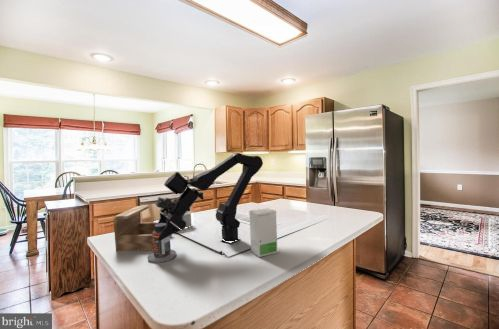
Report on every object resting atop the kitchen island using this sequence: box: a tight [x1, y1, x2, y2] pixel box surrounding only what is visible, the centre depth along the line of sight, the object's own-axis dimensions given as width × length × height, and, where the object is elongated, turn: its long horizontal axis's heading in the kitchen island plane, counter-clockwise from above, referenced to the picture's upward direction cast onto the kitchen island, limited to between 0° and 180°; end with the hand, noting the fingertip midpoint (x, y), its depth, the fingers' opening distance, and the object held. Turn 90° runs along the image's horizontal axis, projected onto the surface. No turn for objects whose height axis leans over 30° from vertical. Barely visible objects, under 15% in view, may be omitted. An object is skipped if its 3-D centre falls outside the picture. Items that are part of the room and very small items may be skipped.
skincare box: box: [248, 207, 278, 258], centre depth 92 cm, size 8×7×16 cm
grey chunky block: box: [182, 211, 192, 227], centre depth 129 cm, size 10×13×9 cm
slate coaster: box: [146, 249, 177, 264], centre depth 93 cm, size 10×10×1 cm
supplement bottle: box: [152, 223, 172, 257], centre depth 92 cm, size 6×6×11 cm
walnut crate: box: [113, 205, 159, 252], centre depth 109 cm, size 16×18×14 cm
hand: (156, 236), depth 92 cm, fingers open, 9 cm apart
